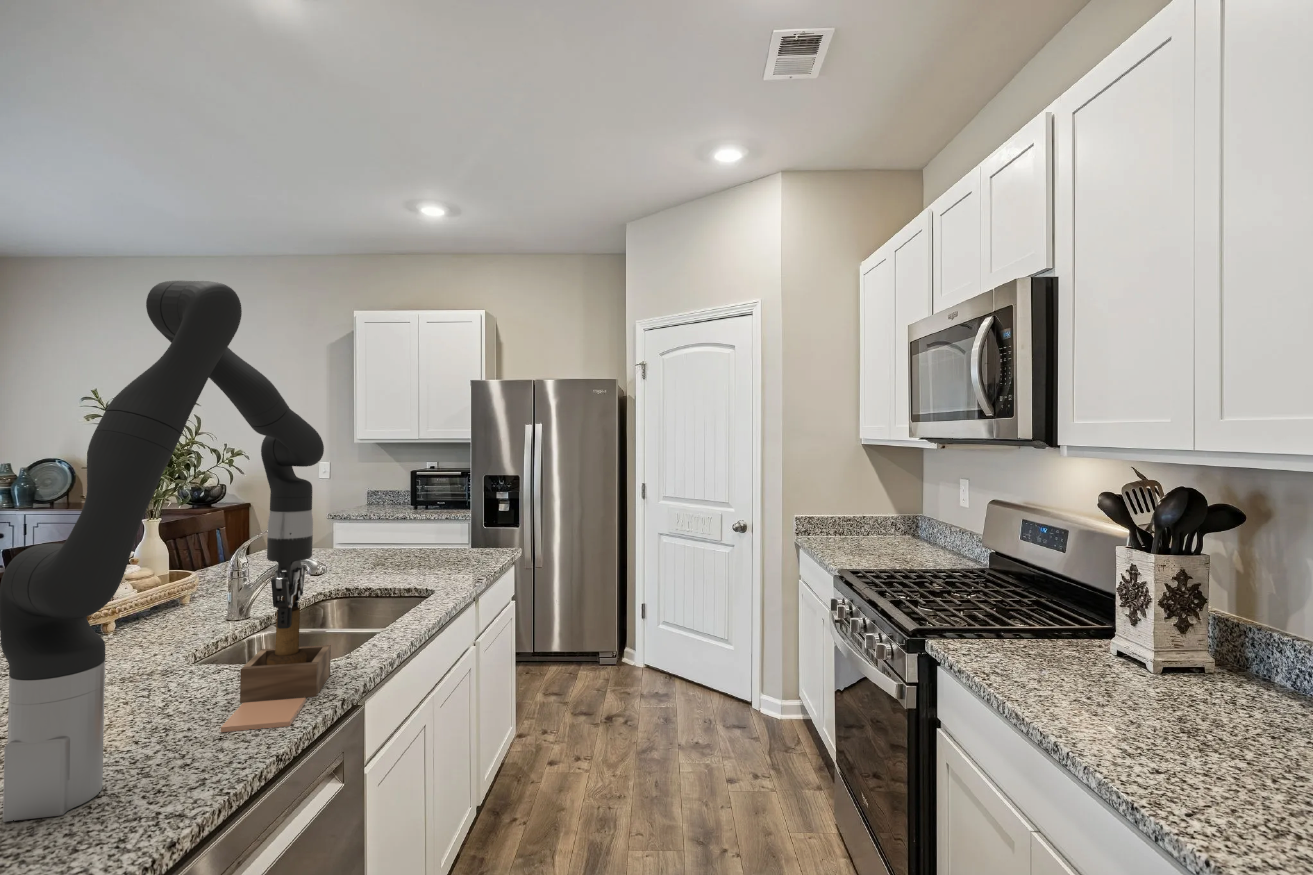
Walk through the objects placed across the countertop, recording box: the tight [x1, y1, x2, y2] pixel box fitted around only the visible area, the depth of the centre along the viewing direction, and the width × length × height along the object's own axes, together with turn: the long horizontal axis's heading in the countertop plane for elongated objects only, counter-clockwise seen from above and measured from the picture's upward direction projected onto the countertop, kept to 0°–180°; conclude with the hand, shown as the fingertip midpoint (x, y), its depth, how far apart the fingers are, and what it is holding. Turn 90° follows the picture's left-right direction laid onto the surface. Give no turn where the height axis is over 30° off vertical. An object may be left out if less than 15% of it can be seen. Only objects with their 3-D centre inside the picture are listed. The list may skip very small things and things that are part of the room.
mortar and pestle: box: [267, 581, 306, 665], centre depth 122 cm, size 7×6×18 cm
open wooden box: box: [239, 644, 332, 704], centre depth 123 cm, size 11×12×6 cm
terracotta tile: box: [220, 697, 307, 733], centre depth 110 cm, size 10×10×1 cm
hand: (287, 624), depth 122 cm, fingers closed on mortar and pestle, 4 cm apart
